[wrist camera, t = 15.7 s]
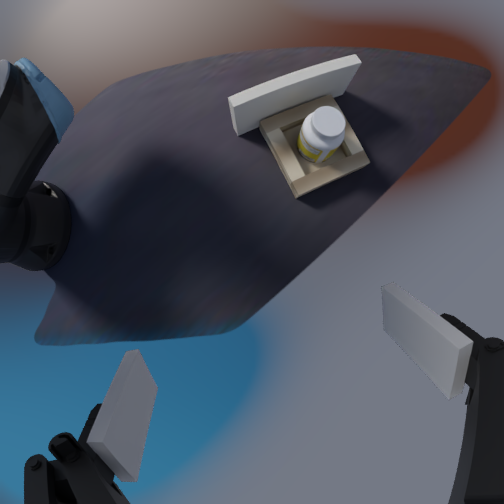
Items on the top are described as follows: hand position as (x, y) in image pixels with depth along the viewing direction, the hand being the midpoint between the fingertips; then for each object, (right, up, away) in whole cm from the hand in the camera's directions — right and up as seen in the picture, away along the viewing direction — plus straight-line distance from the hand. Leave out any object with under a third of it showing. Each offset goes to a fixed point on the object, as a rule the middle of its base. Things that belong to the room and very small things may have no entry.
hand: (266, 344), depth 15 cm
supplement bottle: (+8, +20, +27) cm, 34 cm away
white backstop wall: (+5, +26, +27) cm, 38 cm away
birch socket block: (+8, +20, +27) cm, 34 cm away
